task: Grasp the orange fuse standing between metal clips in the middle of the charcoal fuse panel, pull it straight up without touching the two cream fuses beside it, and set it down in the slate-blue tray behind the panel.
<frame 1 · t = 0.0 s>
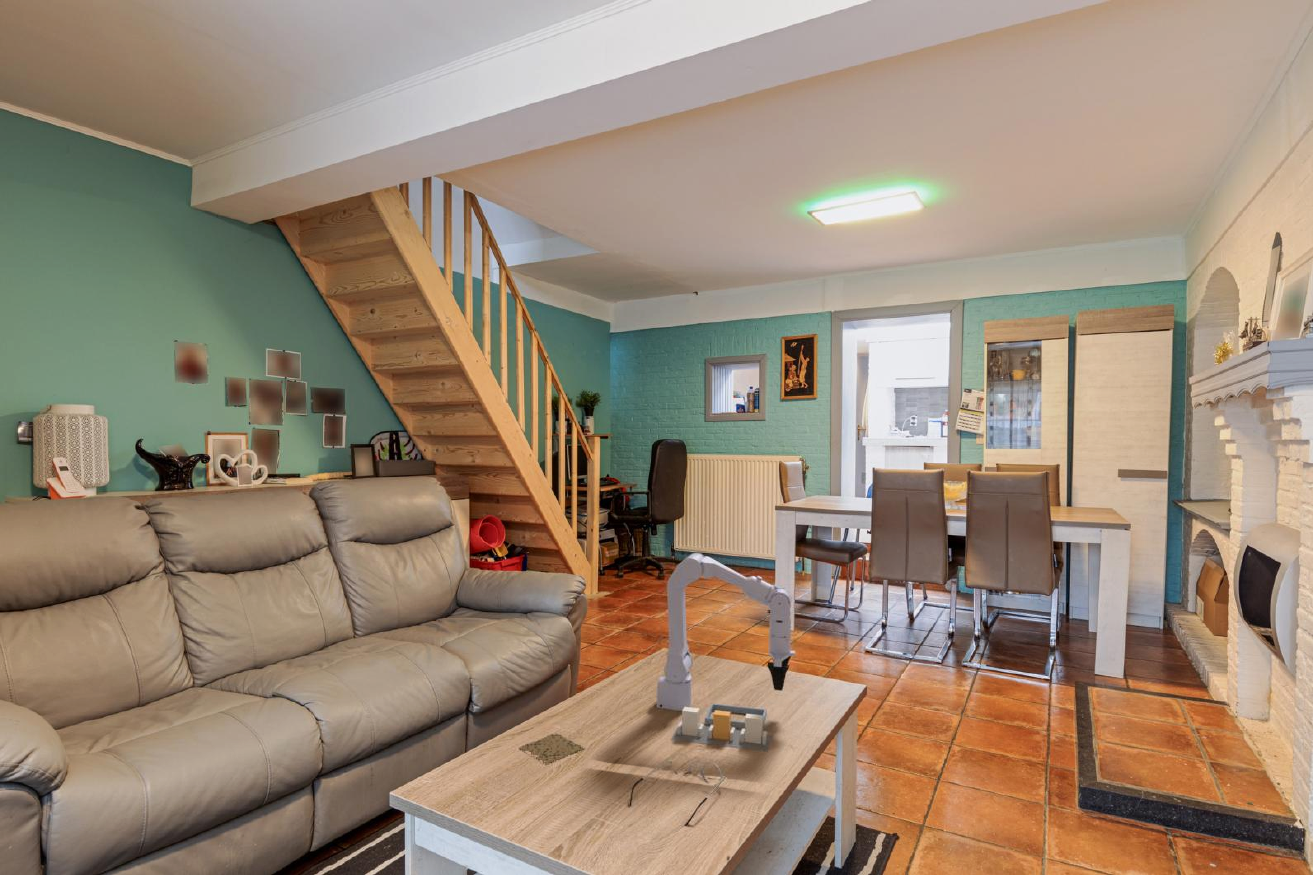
hand: (779, 684, 187), 10 cm above the table, tool pointing down, fingers open, 7 cm apart
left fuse: (690, 732, 176), point 1 cm above the table, touching fuse panel
eyeglasses: (678, 798, 149), on the table
orange fuse: (721, 736, 174), point 1 cm above the table, touching fuse panel
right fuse: (753, 740, 172), point 1 cm above the table, touching fuse panel
tray: (736, 724, 185), on the table
fuse panel: (721, 742, 174), on the table
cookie: (551, 751, 170), on the table
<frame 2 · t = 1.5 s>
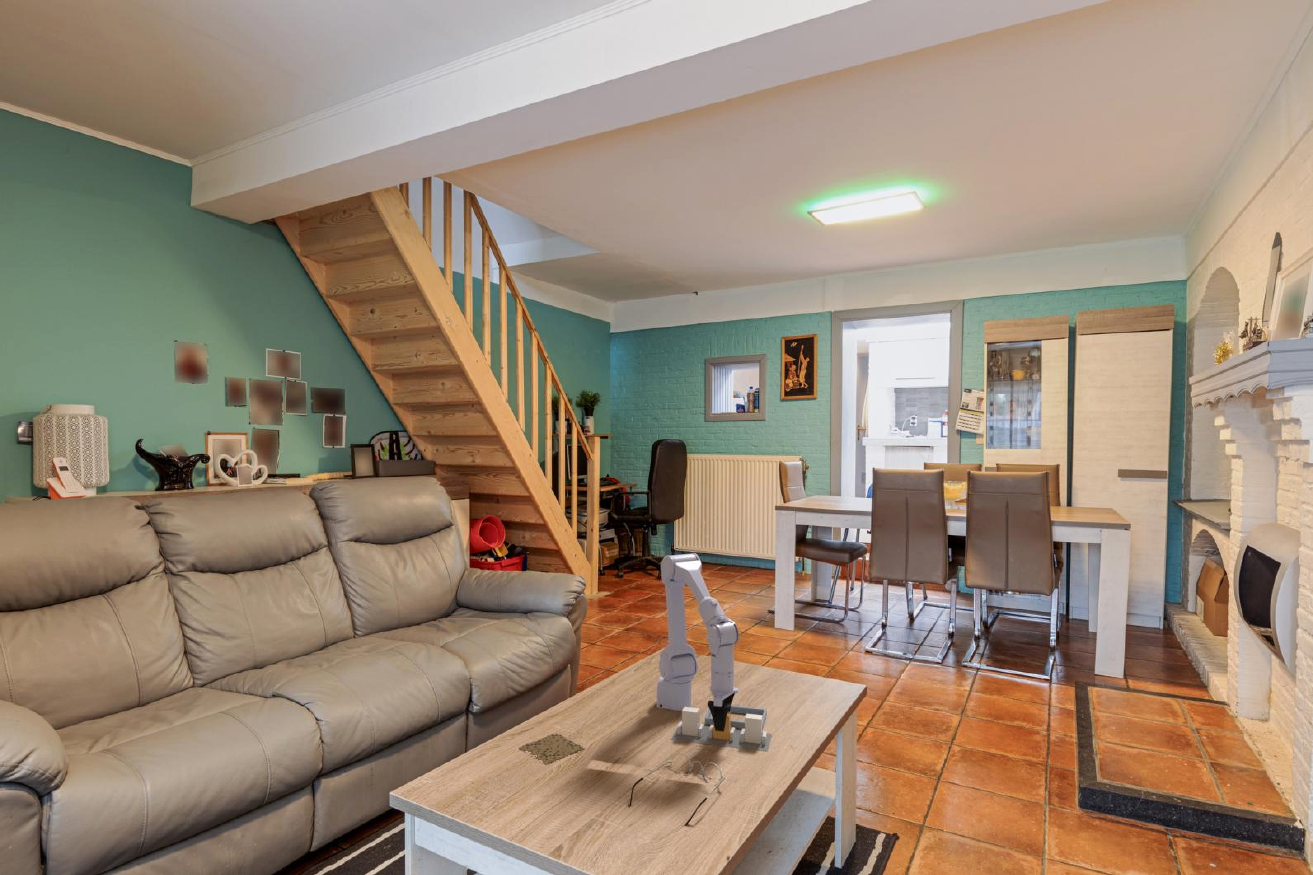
hand: (722, 724, 174), 5 cm above the table, tool pointing down, fingers open, 7 cm apart
nothing on the table moved.
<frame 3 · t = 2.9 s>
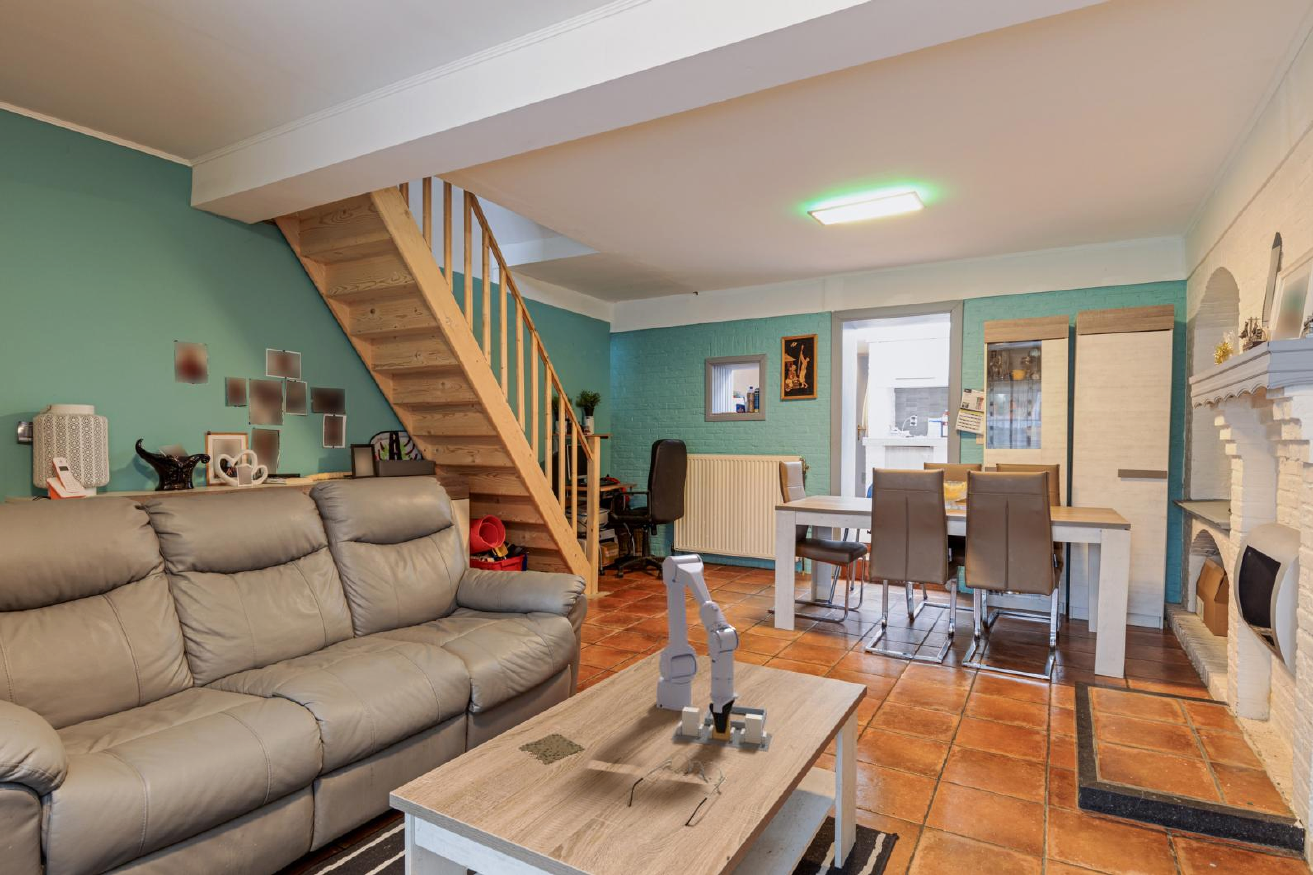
hand: (721, 729, 174), 3 cm above the table, tool pointing down, fingers closed on orange fuse, 3 cm apart
orange fuse: (721, 736, 174), point 2 cm above the table, touching fuse panel, gripper
everything else where it was.
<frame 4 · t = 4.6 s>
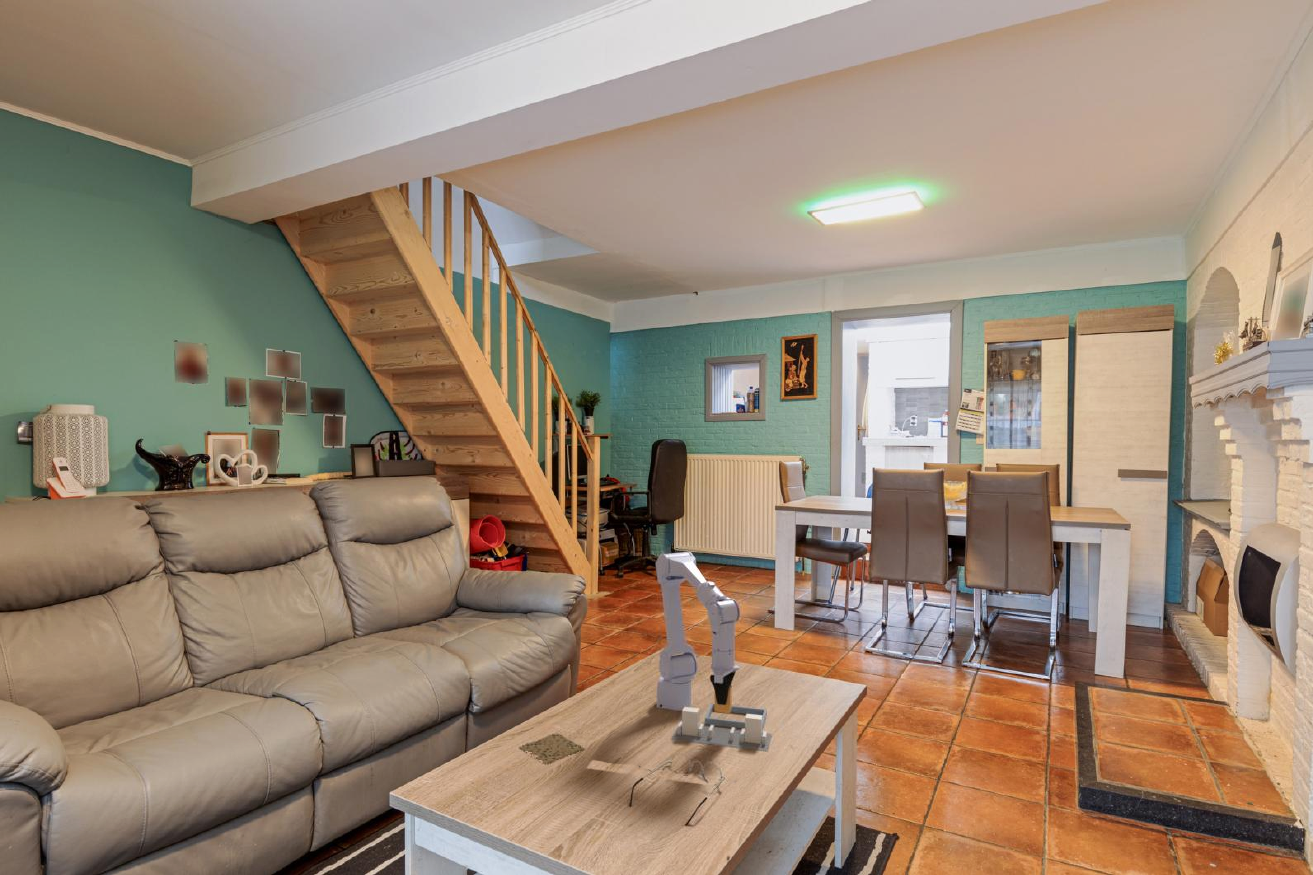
hand: (722, 701, 175), 10 cm above the table, tool pointing down, fingers closed on orange fuse, 3 cm apart
orange fuse: (723, 710, 175), point 8 cm above the table, touching gripper
everything else where it was.
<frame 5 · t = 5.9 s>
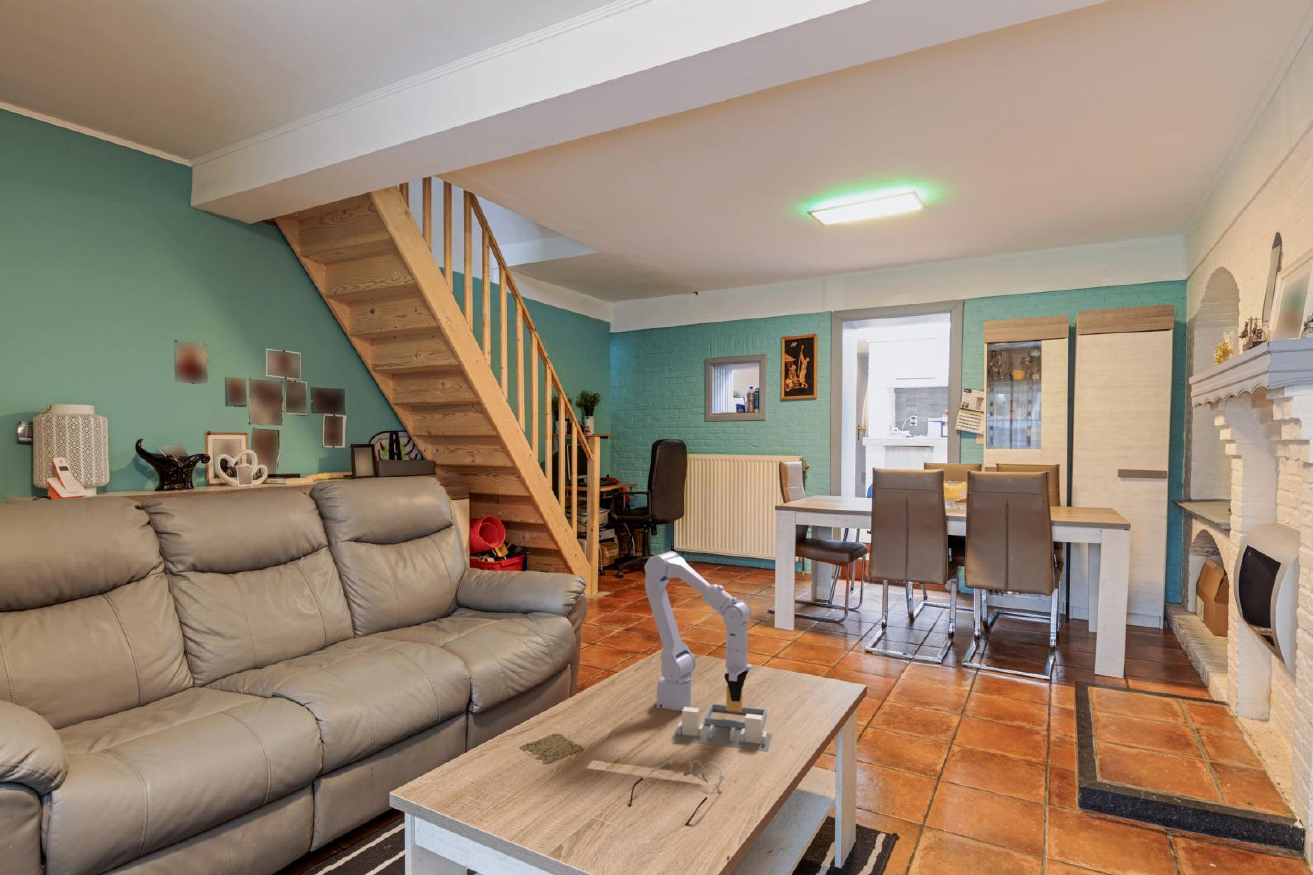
hand: (736, 698, 185), 7 cm above the table, tool pointing down, fingers closed on orange fuse, 3 cm apart
orange fuse: (734, 708, 185), point 4 cm above the table, touching gripper
everything else where it was.
when the fingers open (4 cm above the table, at t = 6.7 s): orange fuse stays where it is, resting on tray.
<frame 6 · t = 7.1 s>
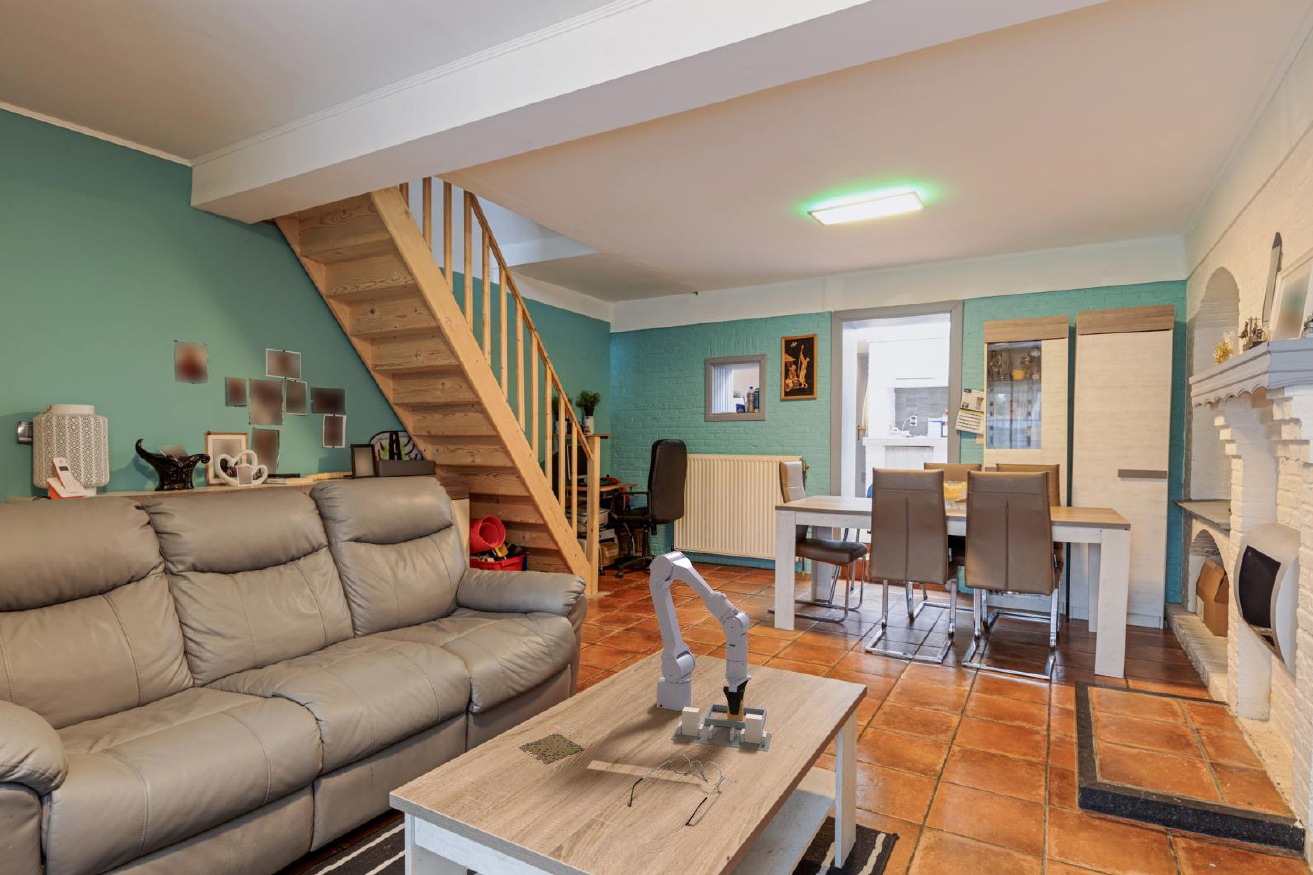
hand: (736, 709, 185), 4 cm above the table, tool pointing down, fingers open, 6 cm apart
orange fuse: (735, 722, 185), resting on tray
everything else where it was.
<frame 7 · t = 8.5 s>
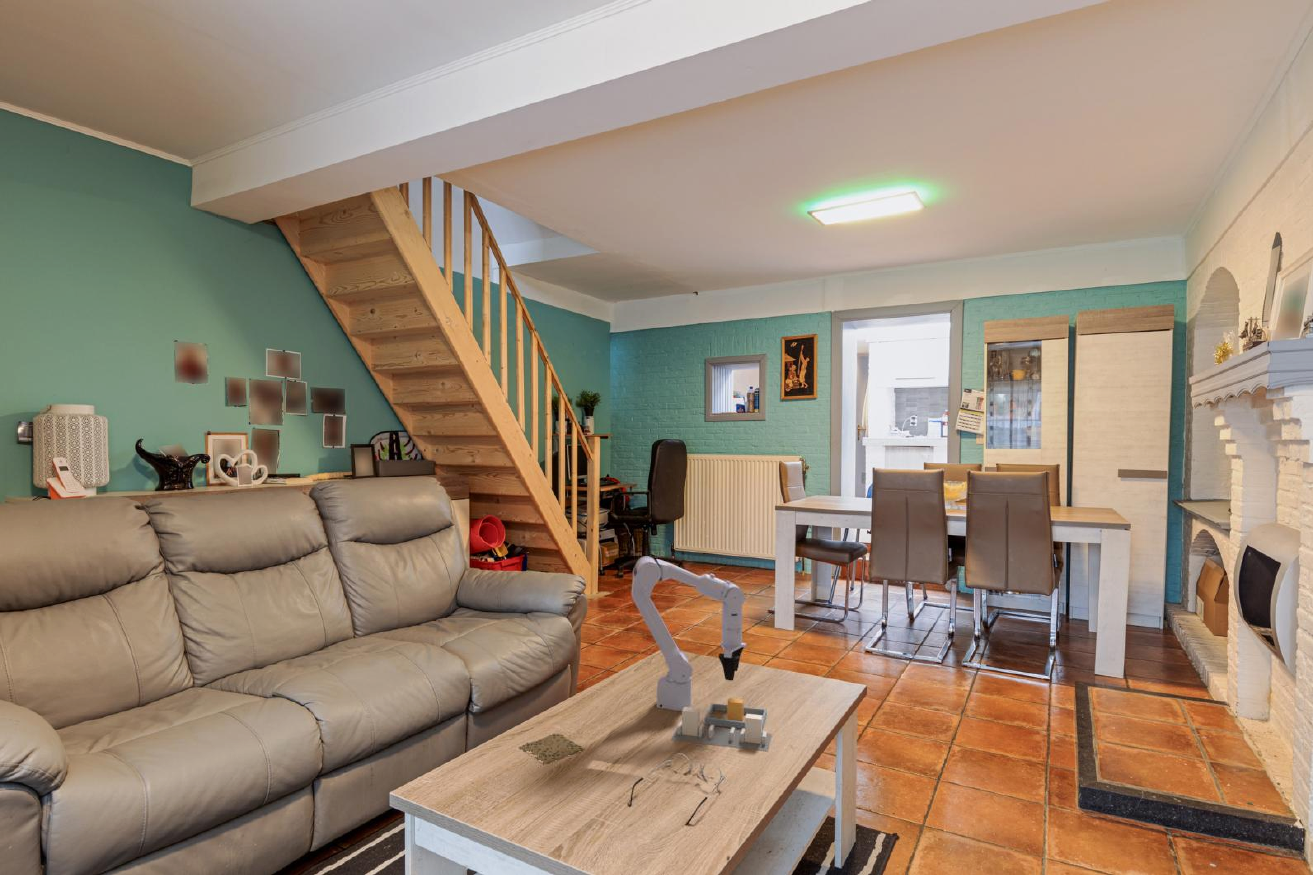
hand: (731, 675, 196), 9 cm above the table, tool pointing down, fingers open, 7 cm apart
nothing on the table moved.
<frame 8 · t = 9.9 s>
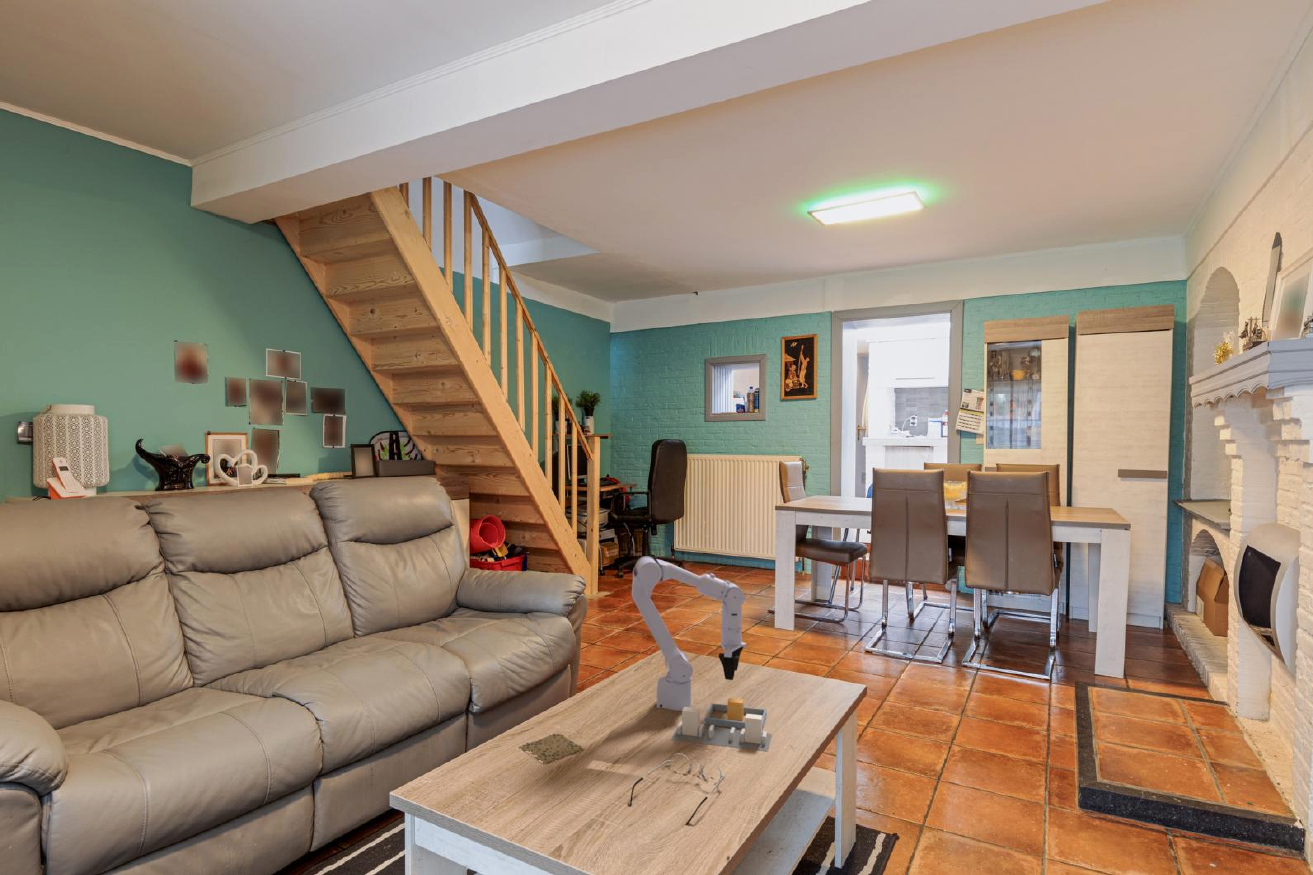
hand: (731, 674, 196), 9 cm above the table, tool pointing down, fingers open, 7 cm apart
nothing on the table moved.
at the end: orange fuse inside the target area on the tray (0.2 cm from its centre), point 0.5 cm above the tray's base; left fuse moved 0.0 cm from its start; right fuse moved 0.0 cm from its start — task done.
